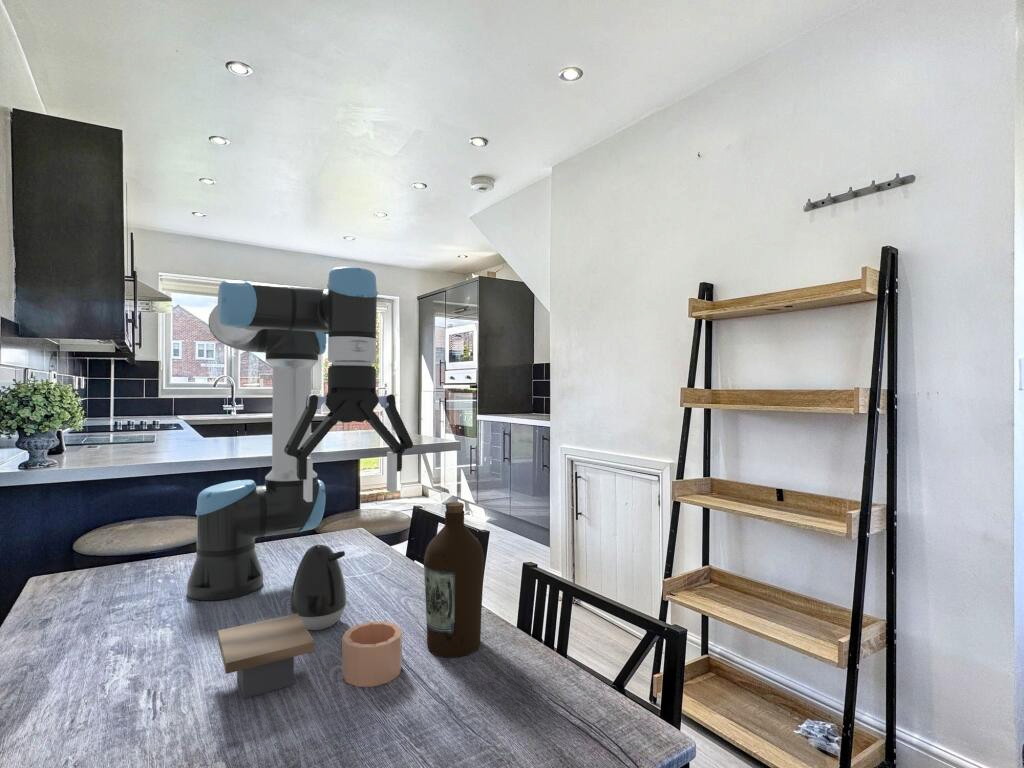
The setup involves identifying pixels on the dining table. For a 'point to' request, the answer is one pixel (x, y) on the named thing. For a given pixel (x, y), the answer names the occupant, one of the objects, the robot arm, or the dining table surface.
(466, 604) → the olive oil
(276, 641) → the lid
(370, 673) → the bowl
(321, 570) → the pump dispenser
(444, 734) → the dining table surface
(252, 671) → the block
